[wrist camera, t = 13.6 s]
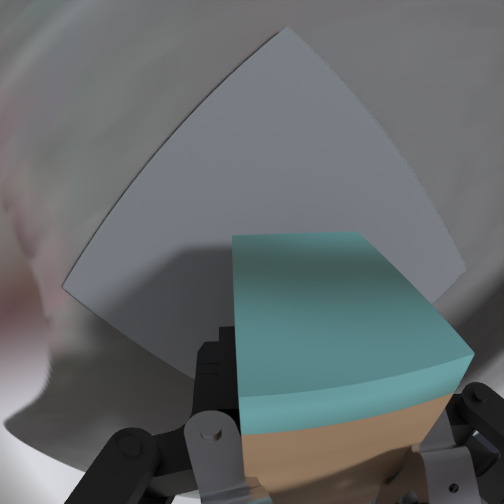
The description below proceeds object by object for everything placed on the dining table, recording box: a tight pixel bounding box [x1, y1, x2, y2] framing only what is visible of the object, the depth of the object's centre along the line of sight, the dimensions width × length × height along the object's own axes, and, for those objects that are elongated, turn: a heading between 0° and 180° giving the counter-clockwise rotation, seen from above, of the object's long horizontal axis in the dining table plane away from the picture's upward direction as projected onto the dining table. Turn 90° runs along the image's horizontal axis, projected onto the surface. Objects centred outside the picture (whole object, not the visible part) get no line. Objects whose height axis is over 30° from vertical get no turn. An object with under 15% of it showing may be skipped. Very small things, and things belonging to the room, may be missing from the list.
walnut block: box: [232, 232, 475, 504], centre depth 9 cm, size 6×4×10 cm
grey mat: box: [62, 26, 467, 380], centre depth 13 cm, size 14×14×1 cm
